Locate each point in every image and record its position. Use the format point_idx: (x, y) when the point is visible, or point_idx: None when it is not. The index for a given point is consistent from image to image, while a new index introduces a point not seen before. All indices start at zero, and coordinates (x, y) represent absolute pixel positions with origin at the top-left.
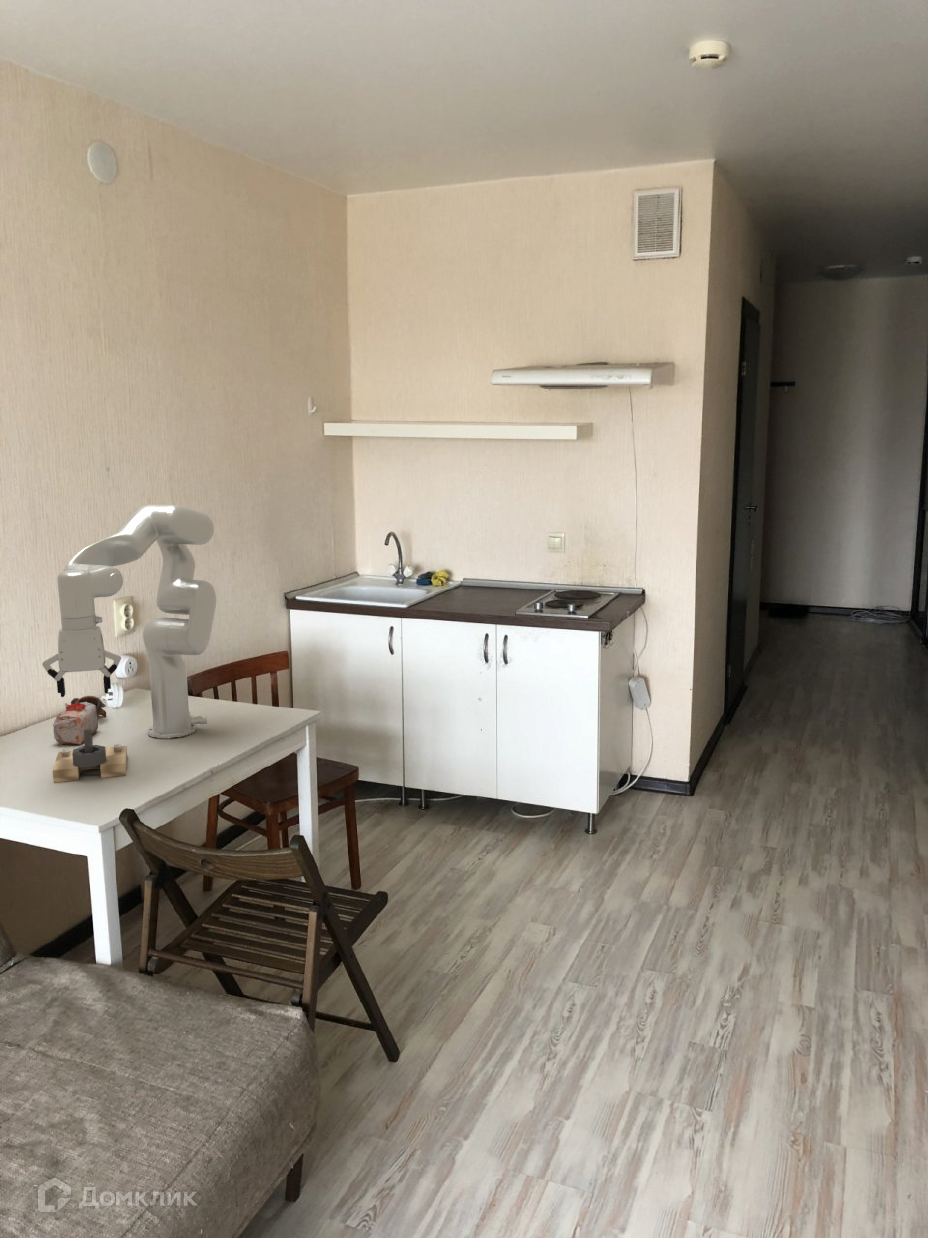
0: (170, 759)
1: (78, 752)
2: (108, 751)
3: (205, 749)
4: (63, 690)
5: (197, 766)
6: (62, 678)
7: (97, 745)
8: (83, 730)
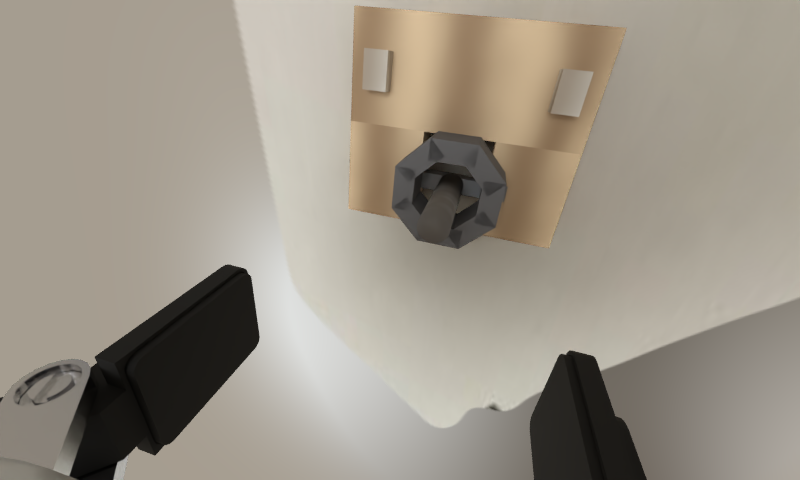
0: (751, 141)
1: (410, 206)
2: (531, 88)
3: None
4: (227, 377)
5: (791, 258)
6: (128, 410)
7: (481, 154)
8: (417, 226)
